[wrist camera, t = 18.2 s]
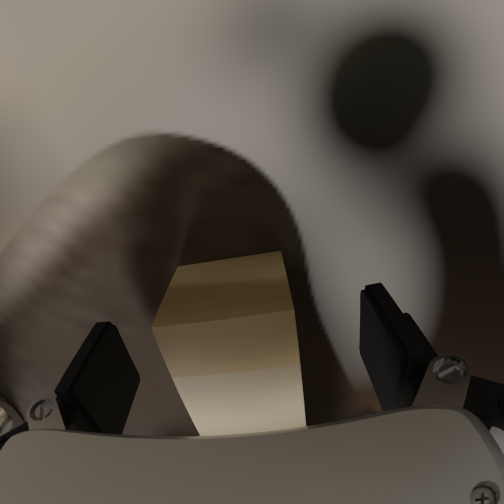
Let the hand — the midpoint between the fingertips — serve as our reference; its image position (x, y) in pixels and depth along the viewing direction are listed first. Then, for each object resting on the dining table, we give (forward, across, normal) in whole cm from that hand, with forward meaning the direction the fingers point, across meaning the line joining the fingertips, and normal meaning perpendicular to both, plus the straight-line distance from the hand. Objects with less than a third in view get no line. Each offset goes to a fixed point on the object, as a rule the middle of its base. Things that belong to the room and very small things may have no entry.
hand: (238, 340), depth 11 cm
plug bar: (+2, 0, +4) cm, 5 cm away
